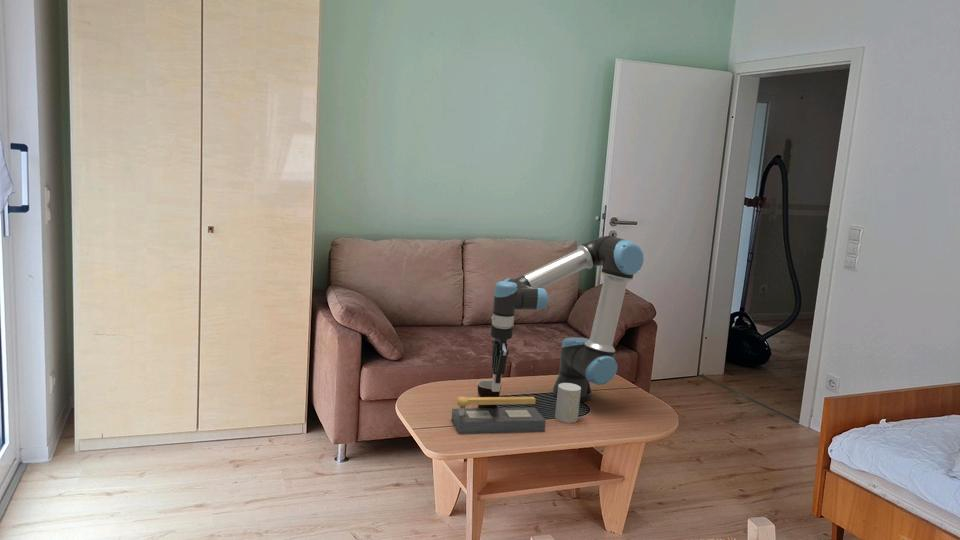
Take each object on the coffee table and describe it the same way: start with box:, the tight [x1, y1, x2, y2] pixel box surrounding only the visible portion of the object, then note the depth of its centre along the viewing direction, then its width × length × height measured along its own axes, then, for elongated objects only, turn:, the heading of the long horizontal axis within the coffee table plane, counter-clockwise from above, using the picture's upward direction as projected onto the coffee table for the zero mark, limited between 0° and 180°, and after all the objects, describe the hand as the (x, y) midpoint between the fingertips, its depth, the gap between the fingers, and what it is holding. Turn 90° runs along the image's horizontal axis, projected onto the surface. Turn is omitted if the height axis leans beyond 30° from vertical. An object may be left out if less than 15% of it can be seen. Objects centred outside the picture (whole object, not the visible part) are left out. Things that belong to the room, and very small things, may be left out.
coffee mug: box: [477, 380, 502, 408], centre depth 264 cm, size 12×9×10 cm
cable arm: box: [456, 396, 537, 407], centre depth 249 cm, size 27×4×2 cm, turn 104°
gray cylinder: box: [554, 383, 581, 424], centre depth 261 cm, size 8×8×12 cm
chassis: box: [450, 405, 546, 435], centre depth 250 cm, size 30×12×8 cm, turn 104°
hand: (495, 390), depth 257 cm, fingers closed
